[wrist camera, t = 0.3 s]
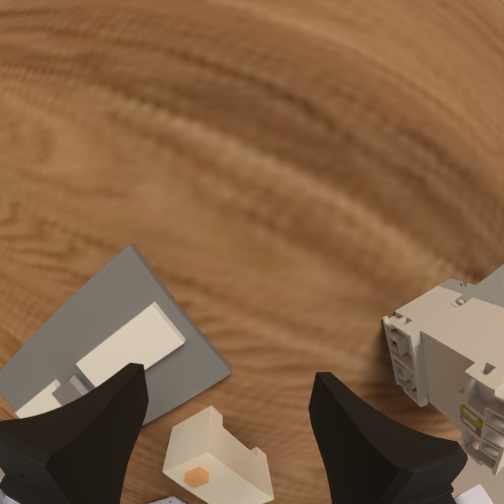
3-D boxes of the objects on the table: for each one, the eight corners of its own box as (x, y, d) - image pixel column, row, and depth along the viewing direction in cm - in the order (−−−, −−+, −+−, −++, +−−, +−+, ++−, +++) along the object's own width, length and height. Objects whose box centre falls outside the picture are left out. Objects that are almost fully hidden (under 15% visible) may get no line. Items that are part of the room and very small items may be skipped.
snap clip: (76, 408, 19) (70, 415, 18) (57, 387, 19) (51, 393, 18) (94, 395, 19) (89, 403, 18) (75, 373, 19) (69, 380, 18)
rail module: (228, 472, 23) (230, 524, 16) (172, 426, 22) (160, 480, 15) (265, 454, 23) (275, 507, 16) (211, 405, 22) (207, 461, 15)
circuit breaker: (493, 315, 24) (592, 355, 9) (396, 383, 24) (492, 478, 9) (486, 253, 23) (603, 273, 8) (381, 317, 23) (513, 403, 8)
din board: (67, 457, 22) (61, 467, 20) (-4, 377, 21) (-13, 383, 19) (232, 367, 22) (232, 378, 20) (133, 243, 21) (125, 245, 19)
